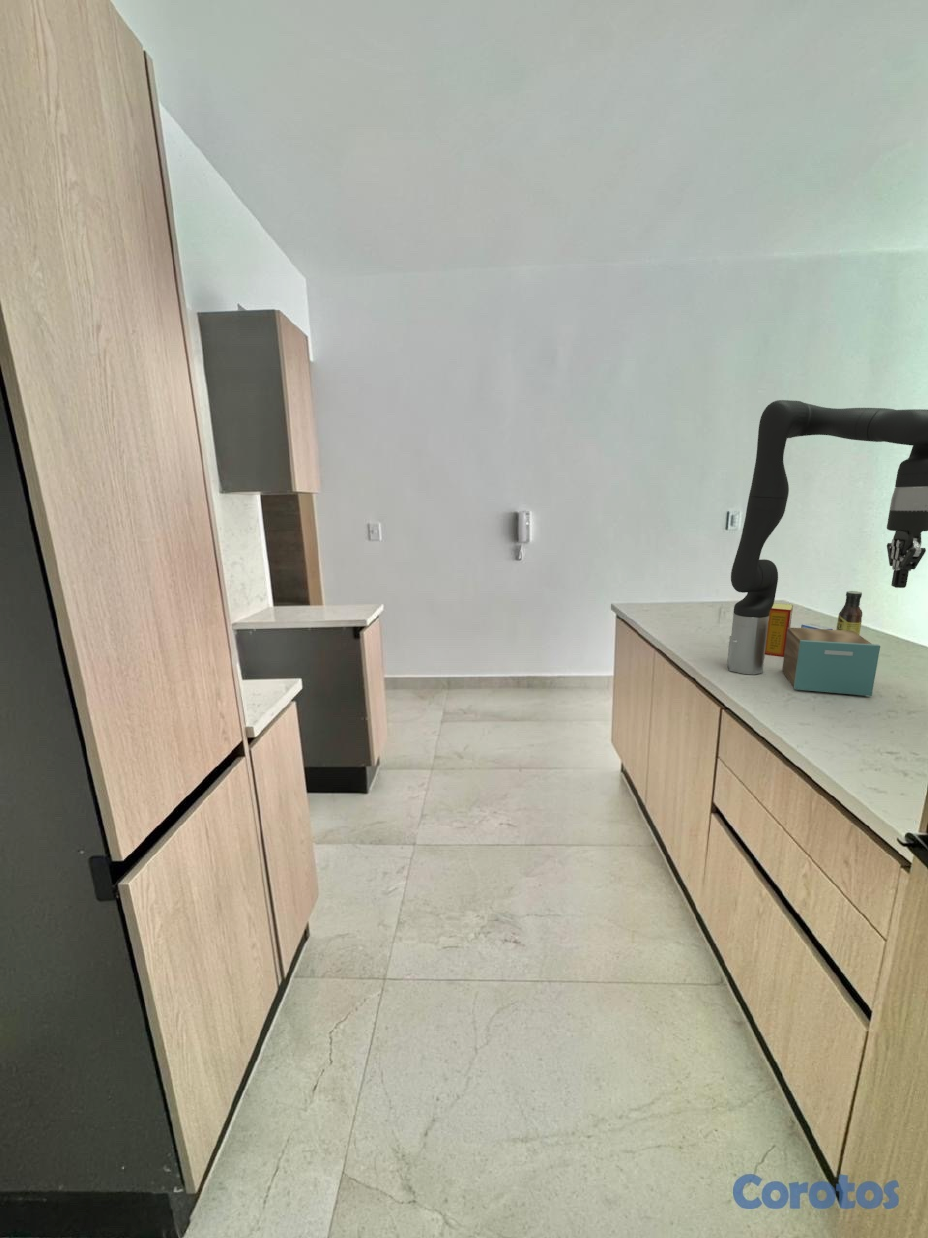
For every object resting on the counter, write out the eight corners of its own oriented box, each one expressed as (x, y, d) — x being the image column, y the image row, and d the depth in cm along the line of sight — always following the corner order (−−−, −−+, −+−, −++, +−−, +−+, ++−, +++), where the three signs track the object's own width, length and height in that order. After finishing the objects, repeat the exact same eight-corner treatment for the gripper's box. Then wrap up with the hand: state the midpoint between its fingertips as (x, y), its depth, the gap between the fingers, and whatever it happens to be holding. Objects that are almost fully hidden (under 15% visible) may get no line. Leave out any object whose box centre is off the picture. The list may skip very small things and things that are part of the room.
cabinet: (794, 689, 137) (801, 641, 134) (781, 671, 150) (787, 627, 147) (866, 695, 131) (874, 645, 128) (846, 676, 145) (853, 630, 142)
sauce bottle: (834, 646, 173) (842, 589, 168) (857, 649, 169) (866, 591, 164) (832, 651, 168) (841, 592, 163) (856, 654, 164) (865, 594, 159)
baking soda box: (765, 647, 174) (770, 601, 170) (787, 649, 170) (793, 603, 166) (761, 654, 167) (767, 606, 163) (784, 657, 163) (790, 609, 159)
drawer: (794, 689, 135) (801, 641, 132) (781, 671, 148) (787, 627, 145) (871, 696, 129) (880, 646, 126) (851, 676, 143) (858, 631, 140)
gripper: (950, 509, 102) (934, 593, 106) (919, 507, 114) (905, 582, 118) (904, 509, 104) (890, 591, 109) (878, 507, 116) (866, 581, 121)
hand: (898, 587), depth 113 cm, fingers closed
